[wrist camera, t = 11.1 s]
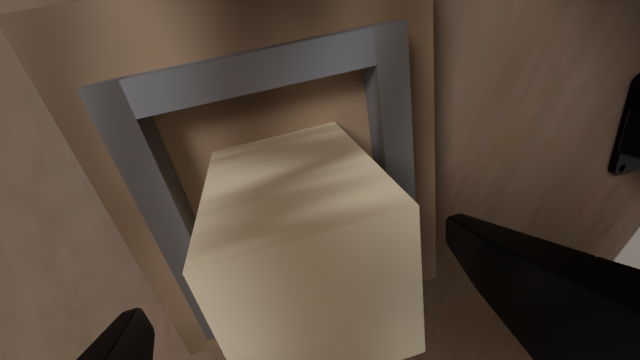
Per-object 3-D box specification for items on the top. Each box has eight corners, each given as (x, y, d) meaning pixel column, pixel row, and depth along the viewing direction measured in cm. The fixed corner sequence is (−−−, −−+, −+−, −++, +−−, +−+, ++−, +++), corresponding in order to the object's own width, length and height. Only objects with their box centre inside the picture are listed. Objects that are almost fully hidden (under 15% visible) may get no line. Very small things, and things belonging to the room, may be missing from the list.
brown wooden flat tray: (400, -47, 13) (458, -76, 10) (415, 250, 20) (451, 296, 17) (41, 18, 11) (-48, 13, 8) (196, 316, 19) (186, 382, 15)
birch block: (334, 121, 13) (418, 205, 7) (351, 221, 15) (425, 351, 9) (212, 151, 12) (182, 273, 6) (248, 250, 15) (252, 411, 8)
